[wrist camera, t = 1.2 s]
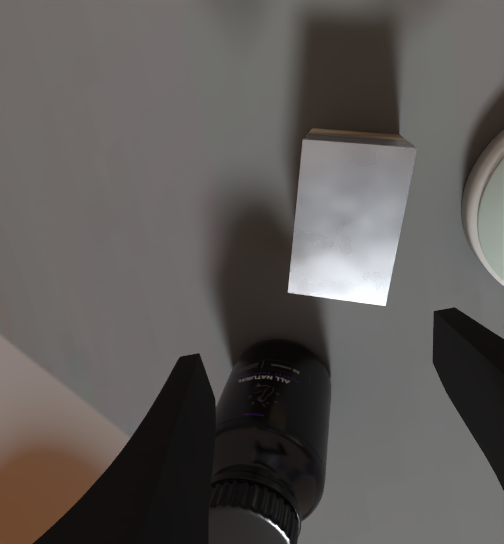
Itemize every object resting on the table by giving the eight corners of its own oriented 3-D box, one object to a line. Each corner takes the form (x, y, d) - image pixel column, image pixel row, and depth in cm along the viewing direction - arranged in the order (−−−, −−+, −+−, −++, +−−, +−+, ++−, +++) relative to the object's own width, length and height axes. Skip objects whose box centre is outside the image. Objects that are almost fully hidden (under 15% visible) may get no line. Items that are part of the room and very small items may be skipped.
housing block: (399, 134, 22) (417, 148, 17) (376, 259, 25) (385, 305, 19) (312, 128, 23) (302, 139, 17) (299, 250, 26) (287, 292, 20)
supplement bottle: (284, 316, 27) (245, 463, 17) (352, 387, 28) (357, 569, 18) (213, 369, 30) (140, 524, 19) (277, 431, 31) (242, 612, 20)
